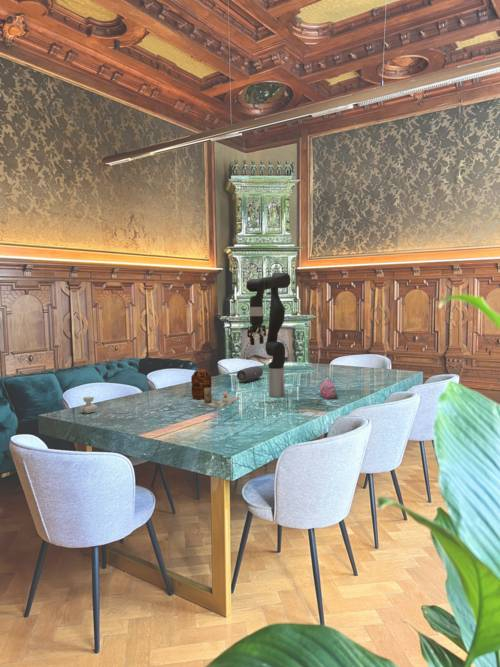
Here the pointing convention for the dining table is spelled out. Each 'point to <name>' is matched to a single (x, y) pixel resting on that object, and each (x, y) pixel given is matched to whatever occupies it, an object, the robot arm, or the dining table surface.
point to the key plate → (229, 397)
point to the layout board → (217, 403)
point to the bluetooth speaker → (249, 374)
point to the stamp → (88, 405)
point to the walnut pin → (207, 395)
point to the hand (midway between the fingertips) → (257, 344)
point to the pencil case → (327, 389)
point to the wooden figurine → (200, 383)
